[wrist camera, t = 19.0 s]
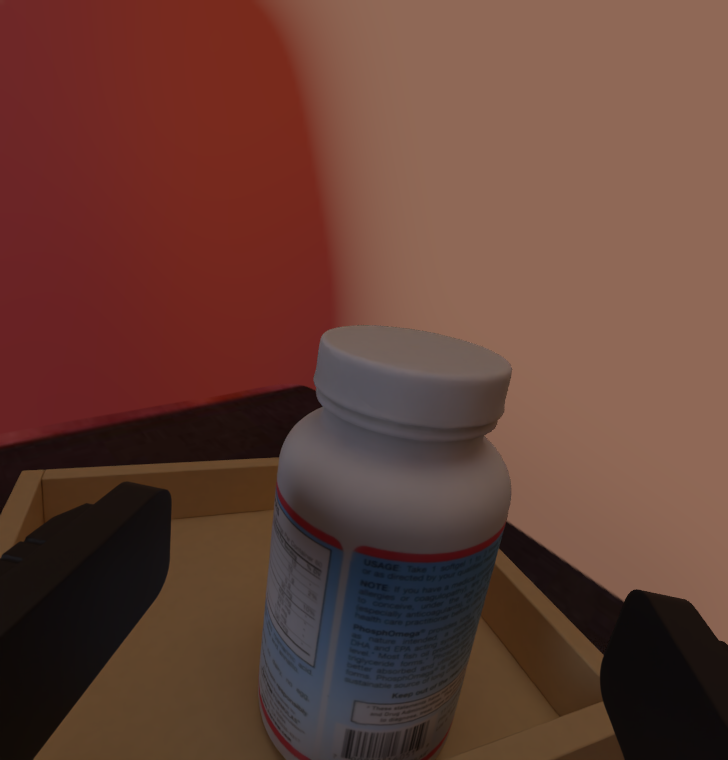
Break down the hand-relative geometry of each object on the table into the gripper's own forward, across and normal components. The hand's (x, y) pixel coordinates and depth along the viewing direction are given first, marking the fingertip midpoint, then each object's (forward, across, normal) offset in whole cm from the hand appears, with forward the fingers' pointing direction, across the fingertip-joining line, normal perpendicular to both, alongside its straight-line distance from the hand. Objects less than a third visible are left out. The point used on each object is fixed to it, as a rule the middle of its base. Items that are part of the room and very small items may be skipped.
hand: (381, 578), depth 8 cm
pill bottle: (+4, 0, +8) cm, 9 cm away
